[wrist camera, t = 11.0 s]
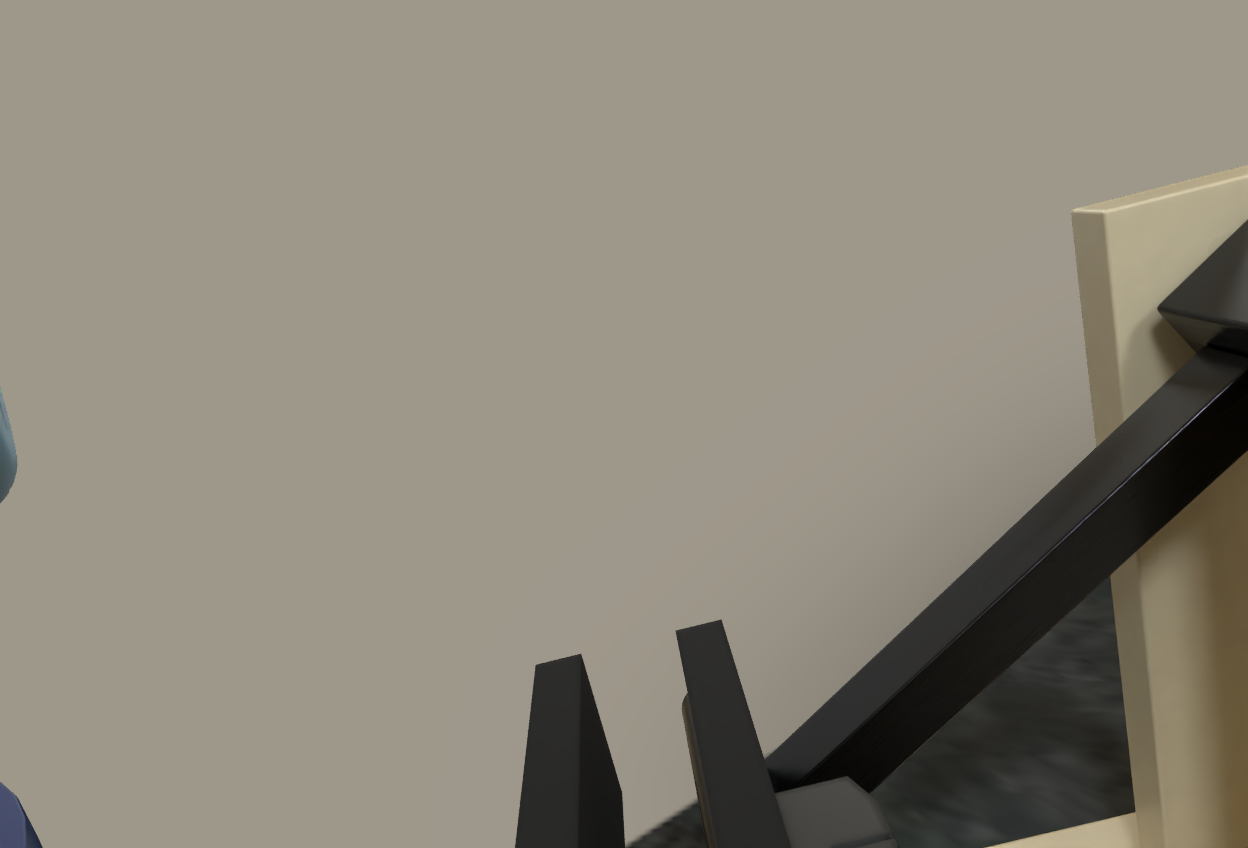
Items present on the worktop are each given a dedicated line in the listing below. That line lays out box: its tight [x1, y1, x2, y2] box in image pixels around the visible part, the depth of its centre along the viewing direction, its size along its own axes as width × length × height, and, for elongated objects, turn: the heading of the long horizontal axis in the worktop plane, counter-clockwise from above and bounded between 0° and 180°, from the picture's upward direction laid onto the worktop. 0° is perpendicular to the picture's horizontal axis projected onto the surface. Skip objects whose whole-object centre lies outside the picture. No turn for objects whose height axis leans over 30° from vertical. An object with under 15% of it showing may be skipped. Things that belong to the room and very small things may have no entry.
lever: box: [682, 219, 1248, 848], centre depth 13 cm, size 14×8×2 cm
